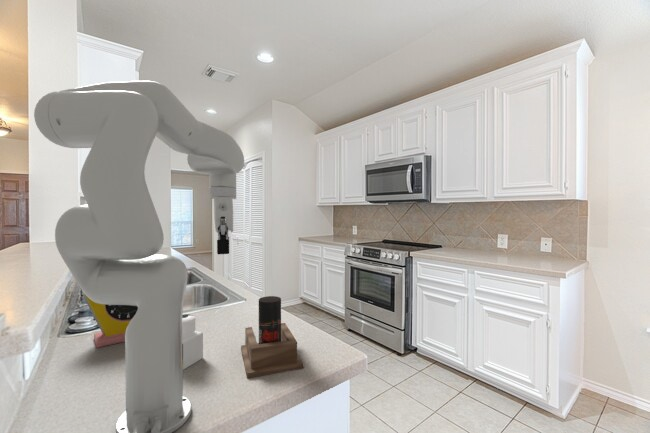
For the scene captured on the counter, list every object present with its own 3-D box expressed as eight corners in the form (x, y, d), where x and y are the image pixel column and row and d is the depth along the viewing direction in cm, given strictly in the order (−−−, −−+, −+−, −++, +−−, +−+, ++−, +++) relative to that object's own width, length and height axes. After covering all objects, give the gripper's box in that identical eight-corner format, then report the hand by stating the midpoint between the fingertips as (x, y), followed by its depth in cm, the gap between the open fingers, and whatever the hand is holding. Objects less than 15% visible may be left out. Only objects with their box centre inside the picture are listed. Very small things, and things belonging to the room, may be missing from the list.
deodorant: (254, 355, 82) (253, 300, 82) (269, 347, 87) (269, 295, 87) (270, 362, 79) (270, 303, 79) (285, 353, 84) (285, 298, 84)
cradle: (303, 368, 78) (303, 343, 78) (246, 378, 74) (246, 352, 74) (288, 342, 94) (288, 322, 93) (241, 349, 89) (241, 328, 89)
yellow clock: (84, 351, 87) (83, 275, 87) (83, 340, 94) (82, 270, 94) (169, 331, 102) (168, 266, 101) (162, 323, 109) (162, 262, 108)
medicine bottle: (161, 365, 80) (161, 319, 79) (183, 353, 86) (183, 310, 86) (182, 370, 77) (182, 323, 77) (203, 358, 84) (203, 314, 83)
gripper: (237, 192, 84) (237, 255, 85) (235, 195, 100) (235, 247, 101) (207, 192, 82) (208, 256, 82) (210, 194, 98) (211, 248, 99)
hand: (223, 251), depth 92 cm, fingers open, 9 cm apart
